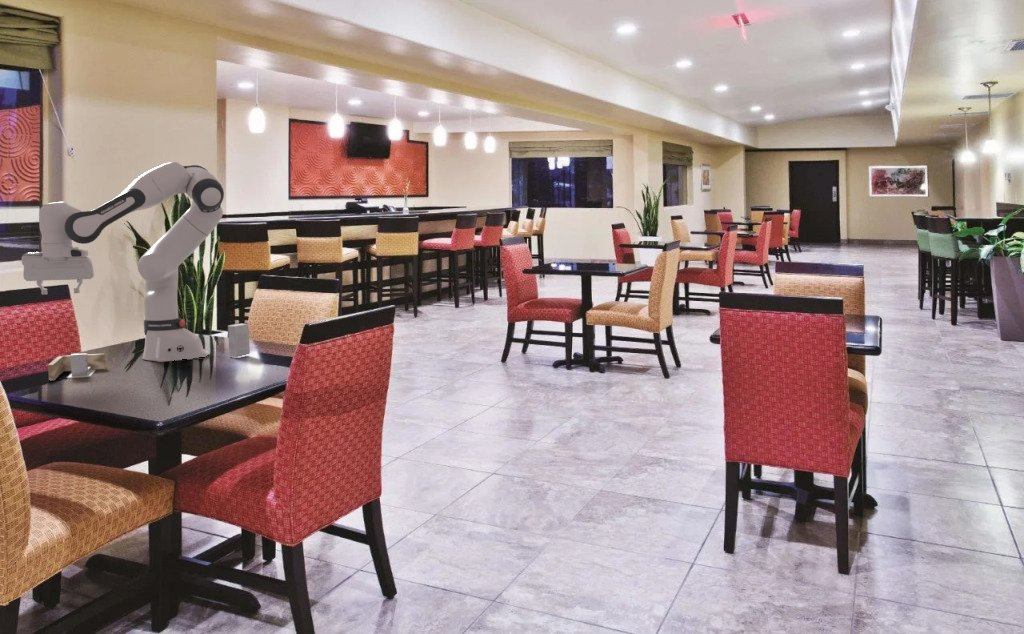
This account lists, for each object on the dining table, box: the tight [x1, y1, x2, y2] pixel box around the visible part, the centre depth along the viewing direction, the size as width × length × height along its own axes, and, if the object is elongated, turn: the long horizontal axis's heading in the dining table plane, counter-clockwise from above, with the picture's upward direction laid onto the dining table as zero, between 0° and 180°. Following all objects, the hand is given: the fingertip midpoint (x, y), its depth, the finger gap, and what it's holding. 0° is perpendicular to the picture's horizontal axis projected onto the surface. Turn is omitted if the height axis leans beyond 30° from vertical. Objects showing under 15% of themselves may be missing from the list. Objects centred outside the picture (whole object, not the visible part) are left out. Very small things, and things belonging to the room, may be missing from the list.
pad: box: [66, 369, 97, 379], centre depth 260 cm, size 7×11×1 cm, turn 19°
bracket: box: [69, 353, 91, 376], centre depth 260 cm, size 8×4×7 cm, turn 19°
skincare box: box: [227, 323, 251, 357], centre depth 289 cm, size 6×4×12 cm
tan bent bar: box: [47, 353, 107, 382], centre depth 260 cm, size 14×16×5 cm
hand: (60, 293), depth 263 cm, fingers open, 8 cm apart
